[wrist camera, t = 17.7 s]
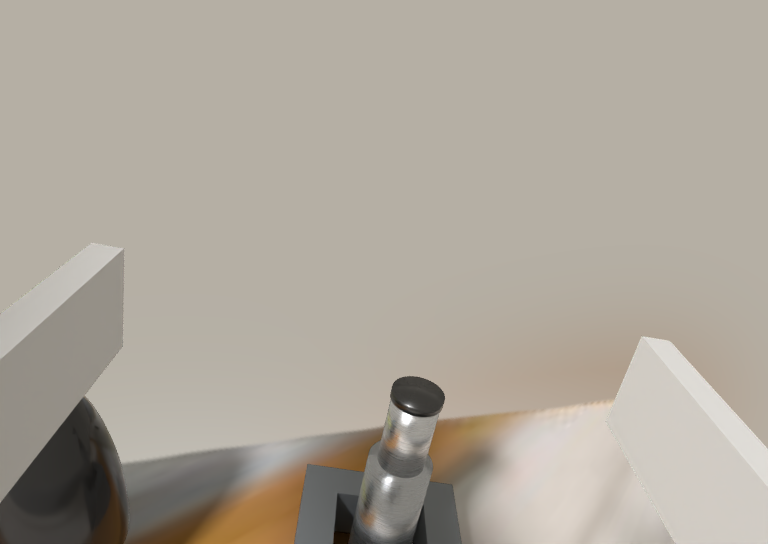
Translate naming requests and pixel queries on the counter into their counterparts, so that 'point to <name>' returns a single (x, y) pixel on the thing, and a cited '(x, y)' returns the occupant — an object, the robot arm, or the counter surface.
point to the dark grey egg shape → (70, 488)
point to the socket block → (339, 501)
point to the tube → (398, 466)
